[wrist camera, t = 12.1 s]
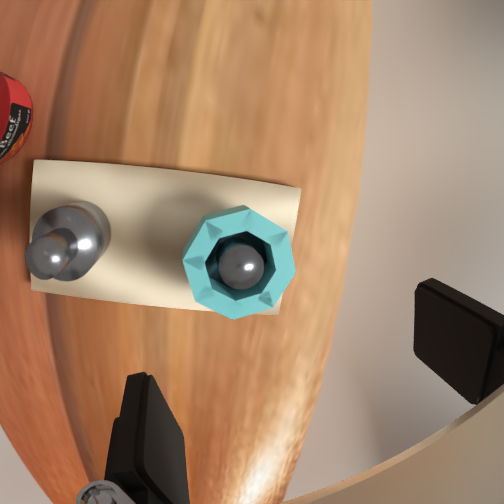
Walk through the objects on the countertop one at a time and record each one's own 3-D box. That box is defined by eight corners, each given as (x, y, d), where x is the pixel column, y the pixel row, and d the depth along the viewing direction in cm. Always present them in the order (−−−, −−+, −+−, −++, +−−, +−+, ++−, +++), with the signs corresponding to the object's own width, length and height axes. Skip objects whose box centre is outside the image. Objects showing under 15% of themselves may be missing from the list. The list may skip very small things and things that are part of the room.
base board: (41, 159, 22) (34, 159, 21) (295, 187, 27) (301, 188, 26) (38, 284, 24) (31, 289, 23) (273, 308, 29) (278, 315, 28)
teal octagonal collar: (174, 223, 22) (173, 229, 20) (271, 197, 23) (281, 200, 20) (201, 313, 24) (203, 327, 22) (290, 287, 25) (300, 299, 22)
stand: (56, 198, 22) (7, 212, 14) (113, 203, 23) (82, 219, 15) (54, 259, 23) (10, 294, 15) (109, 266, 24) (81, 306, 16)
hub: (197, 205, 24) (200, 215, 19) (272, 215, 26) (295, 227, 20) (188, 280, 26) (189, 308, 20) (260, 286, 27) (279, 314, 22)
